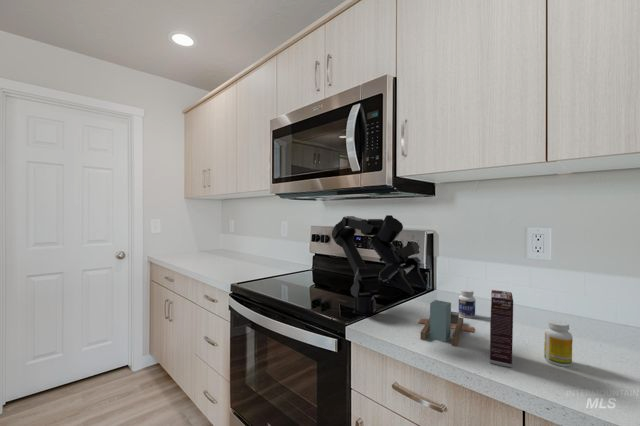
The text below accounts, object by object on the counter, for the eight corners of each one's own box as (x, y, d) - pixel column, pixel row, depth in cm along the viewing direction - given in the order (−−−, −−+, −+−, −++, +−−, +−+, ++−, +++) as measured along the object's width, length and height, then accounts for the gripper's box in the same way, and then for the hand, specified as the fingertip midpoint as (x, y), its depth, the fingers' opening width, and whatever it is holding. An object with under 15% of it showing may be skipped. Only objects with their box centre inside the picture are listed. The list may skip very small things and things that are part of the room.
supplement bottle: (538, 357, 79) (539, 318, 78) (559, 356, 79) (559, 318, 79) (556, 367, 73) (556, 326, 73) (578, 367, 73) (578, 326, 73)
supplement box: (513, 368, 73) (513, 299, 72) (489, 363, 75) (490, 297, 75) (511, 353, 80) (512, 291, 80) (489, 349, 82) (490, 289, 82)
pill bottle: (457, 316, 108) (458, 290, 108) (459, 312, 113) (459, 287, 113) (475, 319, 106) (475, 292, 106) (475, 314, 110) (475, 289, 110)
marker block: (429, 338, 90) (430, 303, 90) (435, 333, 93) (435, 299, 93) (445, 342, 87) (446, 306, 87) (450, 337, 90) (450, 302, 90)
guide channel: (408, 336, 91) (408, 326, 91) (423, 315, 109) (423, 307, 109) (470, 349, 83) (470, 337, 83) (474, 324, 101) (475, 315, 101)
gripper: (388, 235, 90) (426, 279, 83) (415, 232, 104) (449, 269, 97) (364, 260, 95) (398, 303, 88) (393, 253, 109) (424, 290, 102)
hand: (419, 290), depth 94 cm, fingers open, 9 cm apart
